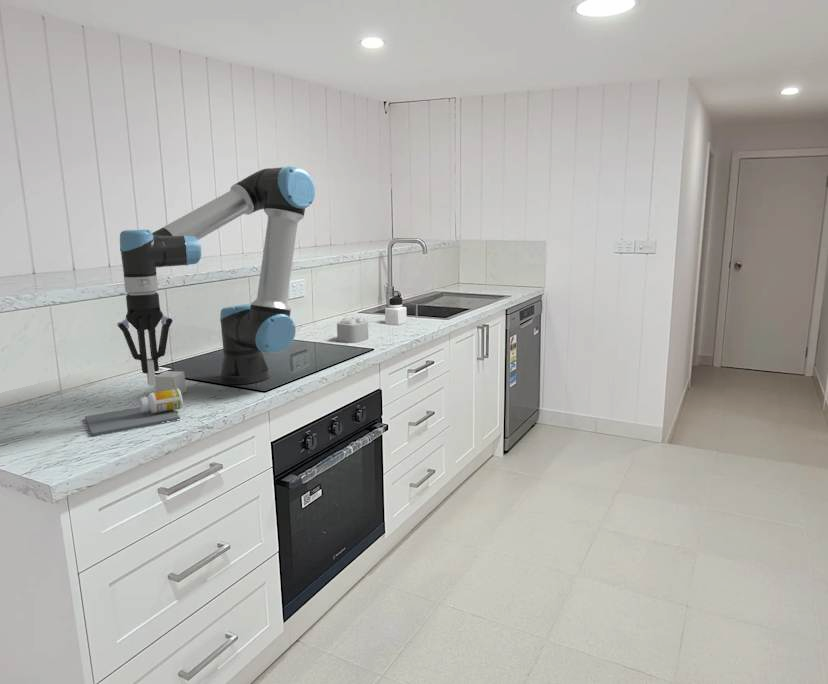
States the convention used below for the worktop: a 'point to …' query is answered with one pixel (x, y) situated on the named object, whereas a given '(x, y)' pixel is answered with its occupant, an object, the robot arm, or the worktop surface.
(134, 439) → the worktop surface
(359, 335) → the lumpy-topped squat cylinder
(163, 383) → the grey cube
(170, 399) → the supplement bottle
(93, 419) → the rubber mat
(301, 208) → the robot arm
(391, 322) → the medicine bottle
